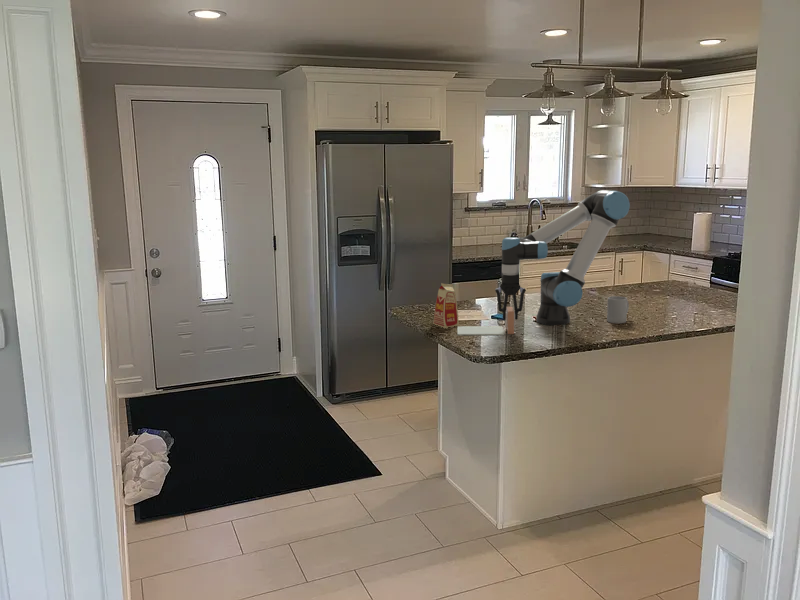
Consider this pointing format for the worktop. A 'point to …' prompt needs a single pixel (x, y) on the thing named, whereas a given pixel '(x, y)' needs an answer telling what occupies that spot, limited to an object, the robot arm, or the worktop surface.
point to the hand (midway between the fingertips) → (510, 326)
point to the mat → (480, 330)
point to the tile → (510, 320)
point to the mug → (617, 309)
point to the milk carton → (446, 307)
